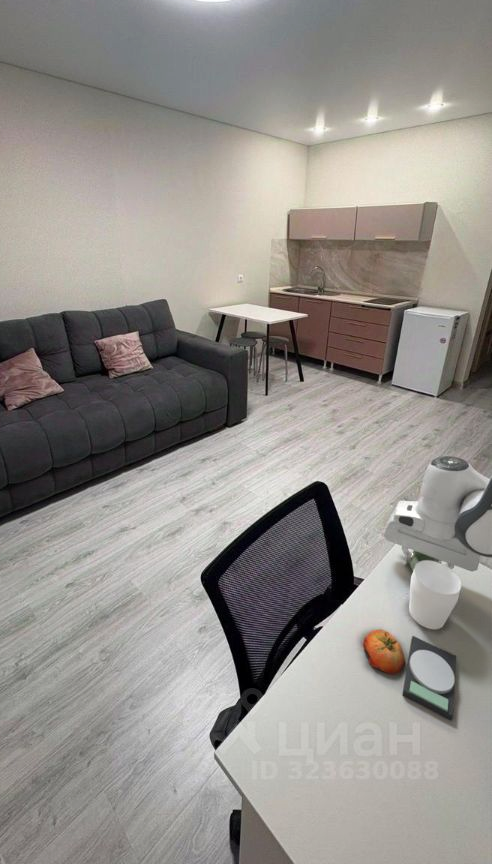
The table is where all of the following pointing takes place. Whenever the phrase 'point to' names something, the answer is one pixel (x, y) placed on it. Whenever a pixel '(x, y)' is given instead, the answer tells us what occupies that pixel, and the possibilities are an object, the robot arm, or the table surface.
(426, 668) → the scale
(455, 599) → the cup
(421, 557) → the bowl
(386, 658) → the tomato
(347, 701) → the table surface
